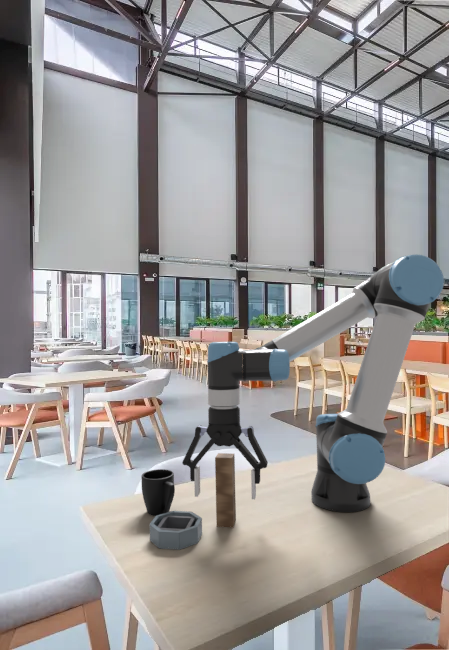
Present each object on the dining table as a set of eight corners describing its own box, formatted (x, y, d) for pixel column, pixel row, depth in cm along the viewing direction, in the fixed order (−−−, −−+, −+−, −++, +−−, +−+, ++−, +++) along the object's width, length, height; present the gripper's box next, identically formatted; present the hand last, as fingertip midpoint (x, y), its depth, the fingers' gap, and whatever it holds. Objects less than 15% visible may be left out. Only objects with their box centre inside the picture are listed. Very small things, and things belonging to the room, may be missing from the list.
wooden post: (235, 520, 102) (234, 453, 103) (233, 527, 98) (231, 458, 99) (219, 519, 103) (218, 453, 103) (216, 526, 99) (215, 457, 100)
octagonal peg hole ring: (205, 527, 99) (204, 512, 99) (194, 550, 88) (193, 533, 88) (160, 525, 101) (160, 510, 101) (144, 547, 90) (144, 530, 90)
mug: (156, 526, 100) (155, 486, 100) (137, 510, 110) (136, 473, 110) (187, 518, 104) (186, 478, 105) (165, 502, 114) (165, 467, 115)
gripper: (277, 404, 103) (278, 492, 103) (177, 403, 107) (178, 487, 107) (275, 409, 96) (277, 504, 95) (169, 408, 100) (170, 499, 99)
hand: (225, 496), depth 101 cm, fingers open, 13 cm apart
